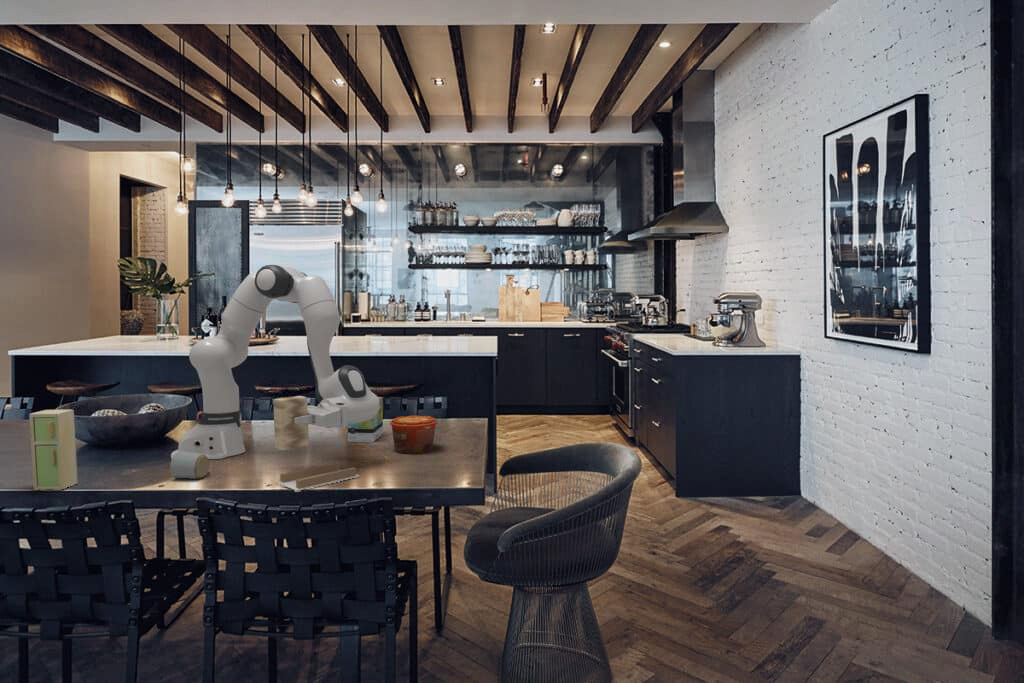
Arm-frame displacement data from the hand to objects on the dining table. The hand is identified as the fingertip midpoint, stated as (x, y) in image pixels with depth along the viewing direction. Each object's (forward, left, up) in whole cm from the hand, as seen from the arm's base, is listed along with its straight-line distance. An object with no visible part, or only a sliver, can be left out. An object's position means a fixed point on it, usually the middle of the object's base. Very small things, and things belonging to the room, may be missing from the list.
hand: (288, 419), depth 188 cm
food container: (+40, +27, -18) cm, 51 cm away
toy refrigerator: (-61, +10, -18) cm, 64 cm away
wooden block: (+1, 0, -8) cm, 8 cm away
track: (+8, -4, -17) cm, 19 cm away
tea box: (+26, +51, -18) cm, 60 cm away
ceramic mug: (-27, +12, -18) cm, 34 cm away
